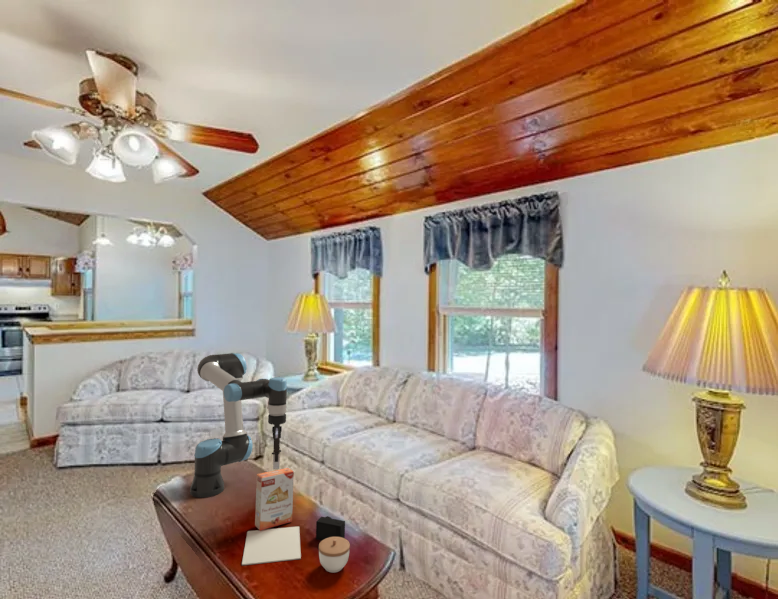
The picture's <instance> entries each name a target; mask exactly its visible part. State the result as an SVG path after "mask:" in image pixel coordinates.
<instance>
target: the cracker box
mask: <svg viewBox="0 0 778 599" xmlns="http://www.w3.org/2000/svg"><path fill="white" fill-rule="evenodd" d="M294 475H295V472H294V471H293V470H292V469H290V468H289V467H285V468H279V469H274V470H269V471H266V472H259V473H257V474H256V489H255V490H256V491H255V493H256V494H255V516H254V526H255V527H256V528H257V530H260V531H261V530H266V529H272V528H274V527H278V526H281V525H285V524H289V523H291V522H292V521H293V502H294V501H293V500H294V479H295V478H294Z"/></svg>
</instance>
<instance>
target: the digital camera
mask: <svg viewBox="0 0 778 599" xmlns="http://www.w3.org/2000/svg"><path fill="white" fill-rule="evenodd" d="M345 531H346V521H345V520H341V519H335V518H333V517H330V516H329V515H328V516H320V517H319V518H318V519H317V520H316V525H315V539H316V540H318V541H322V540H324V539H326V538H329V537H342V538H345V534H346V532H345ZM345 539H346V538H345Z"/></svg>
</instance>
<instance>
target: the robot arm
mask: <svg viewBox="0 0 778 599" xmlns="http://www.w3.org/2000/svg"><path fill="white" fill-rule="evenodd" d="M196 369H197V370H196V371H197V374H198V376H199V378H201V379H202V380H203V381H206V382H210V383H212V384H213V385H214V386H215V387H217V388H218V389H220V390H221V391H222V399H223V414H224V416H223V417H224V430H225V433H224V434H223V435H222V437H221V438H222V440H221V439H220V438H215V437H214V438H208V439H204V440H202V441H200V442H199V443H197V444H196V446H195V449H194V455H193V456H194V475H193V479H192V482H191V484H190V487H189V495H190V496H191V497H193V498H203V499H204V498H209V497H211V498H212V497H214V496H216V495H217V496H218V495H219V494H221V493H223V492H224V490H225V482H224V480H223V476H222V473H221V471H222V466H223V467H224V466H227V465H231V464H235V463H241V462H243V461H247V460H248V459H250V457H251V455H252V452H253V447H254V445H253V440H252V438H251V436H250V435H248V433H247V431H246V430H245V429H244V421H243V420H244V419H243V418H244V417H243V407H242V406H243V404H242V401H246V400H253V399H254V400H255V399H259V398H268V406H266V408H267V409H268V411H267V412H268V416H267V422H268V424H269V425H273V426H272V428H271V432H272V439H273V452H271V455H272V461H273V462H272V469H273V470H280V467H281V466H280V456H281V452H282V450H281V448H280V447H281V444H280V441H281V440H280V439H281V438H282V428H283V427H282V426H281V425H284V424H285V423H286V422H287V393H288V392H287V389H288V386H287V379H286V378H285V377H280V376H278V377H271V378H269V379H268V378H258V379H257V380H252V381H242V380H243V379H244V376H245V375H246V374H247V369H248V368H247V361H246V359H245V357H244V356H243V354H241V353H239V352H237V353H235V352H231V353H221V354H220V353H219V354H218V353H217V354H210V355H209V354H208V355H207V356H205V357H203V358H201V360H200V362H199V363H198V365H197V368H196Z"/></svg>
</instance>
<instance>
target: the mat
mask: <svg viewBox="0 0 778 599" xmlns="http://www.w3.org/2000/svg"><path fill="white" fill-rule="evenodd" d="M300 533H301V532H300V526H288V527H278V528H268V529H264V530H261V531H260V530H259V529H257V530H248V531H247V532H246V538H245V544H244V549H243V556H242V561H241V566H251V565H258V564H260V565H261V564H267V563H275V562H286V561H294V560H301V559H302V558H301V557H302V553H301V535H300Z"/></svg>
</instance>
